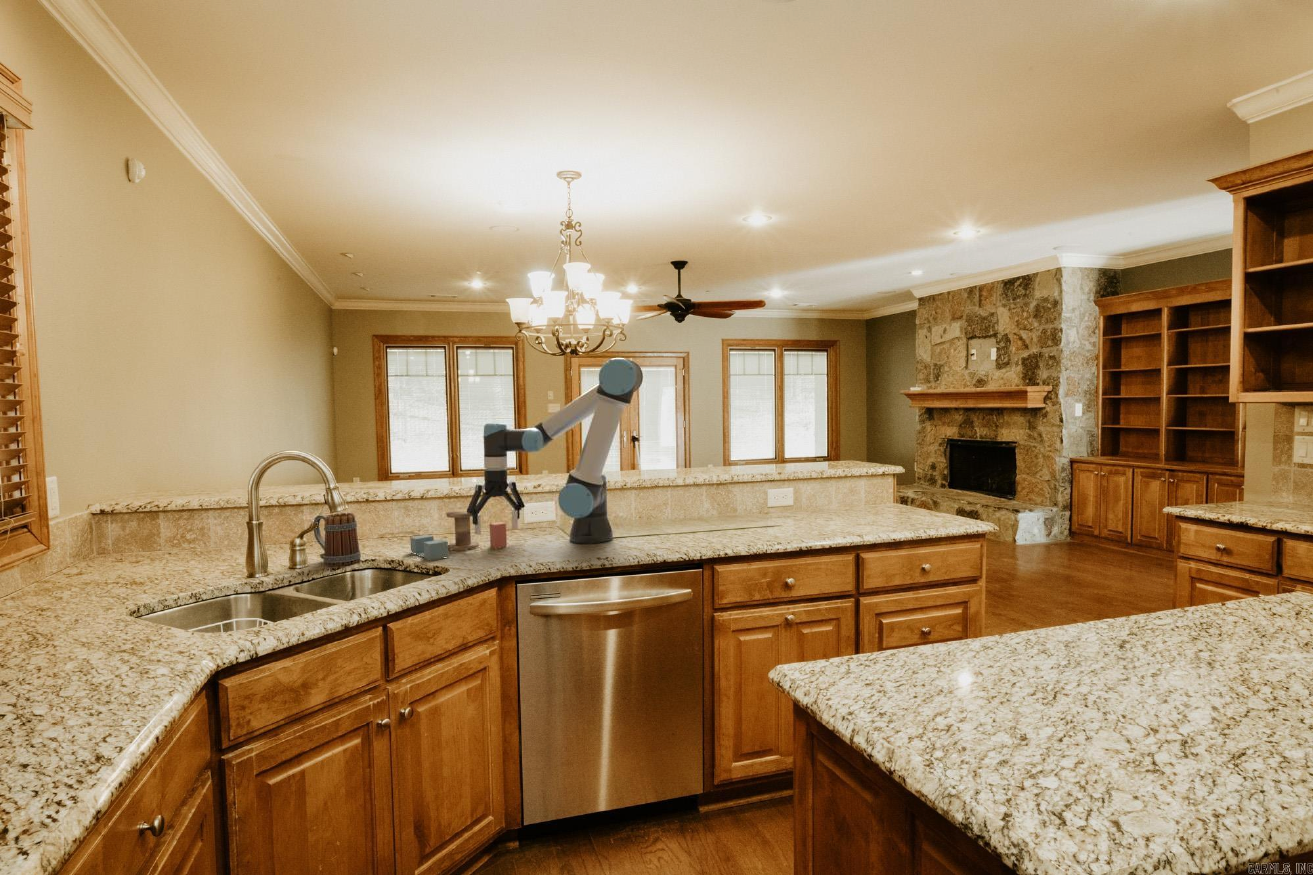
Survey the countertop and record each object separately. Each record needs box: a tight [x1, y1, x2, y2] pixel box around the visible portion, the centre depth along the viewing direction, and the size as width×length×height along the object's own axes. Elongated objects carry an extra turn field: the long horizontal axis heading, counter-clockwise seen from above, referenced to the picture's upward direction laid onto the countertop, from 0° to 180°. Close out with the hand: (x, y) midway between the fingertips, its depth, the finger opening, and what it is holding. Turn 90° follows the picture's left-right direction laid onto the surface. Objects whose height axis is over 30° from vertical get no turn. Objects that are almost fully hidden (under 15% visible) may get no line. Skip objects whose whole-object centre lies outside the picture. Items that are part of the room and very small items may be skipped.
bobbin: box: [446, 509, 479, 551], centre depth 229 cm, size 10×10×12 cm
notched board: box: [409, 534, 449, 561], centre depth 219 cm, size 16×6×5 cm, turn 40°
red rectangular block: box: [489, 521, 508, 549], centre depth 229 cm, size 4×4×8 cm
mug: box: [312, 512, 362, 567], centre depth 212 cm, size 16×11×15 cm
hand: (496, 531), depth 229 cm, fingers open, 13 cm apart
